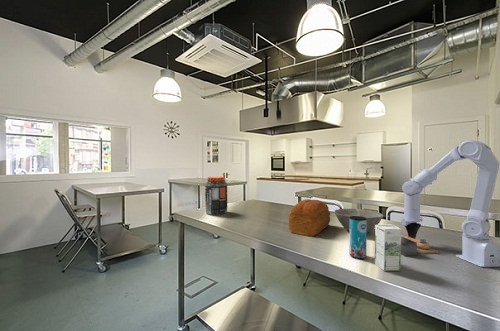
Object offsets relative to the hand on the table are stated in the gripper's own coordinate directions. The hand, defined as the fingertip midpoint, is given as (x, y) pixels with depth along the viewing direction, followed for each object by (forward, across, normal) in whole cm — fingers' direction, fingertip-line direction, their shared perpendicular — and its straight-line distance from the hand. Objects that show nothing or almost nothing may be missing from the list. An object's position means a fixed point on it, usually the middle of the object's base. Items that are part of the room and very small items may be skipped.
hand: (411, 239), depth 102 cm
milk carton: (+2, +32, +7) cm, 33 cm away
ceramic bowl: (+2, +3, -24) cm, 25 cm away
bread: (+2, +20, -41) cm, 46 cm away
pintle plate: (+2, +3, +6) cm, 7 cm away
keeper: (+2, +13, +3) cm, 13 cm away
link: (+1, +2, +1) cm, 3 cm away
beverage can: (+2, +32, -4) cm, 32 cm away
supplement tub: (+2, +49, -104) cm, 115 cm away
